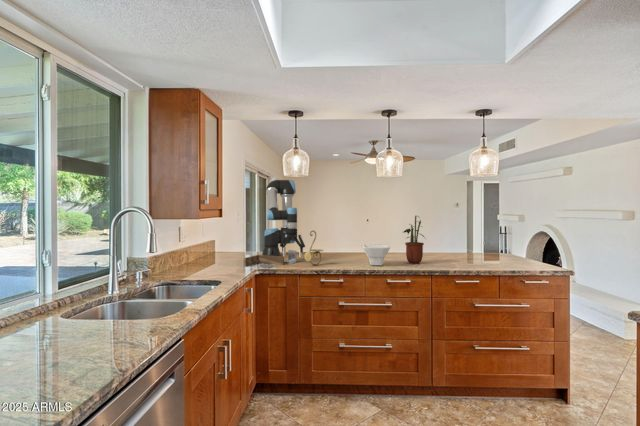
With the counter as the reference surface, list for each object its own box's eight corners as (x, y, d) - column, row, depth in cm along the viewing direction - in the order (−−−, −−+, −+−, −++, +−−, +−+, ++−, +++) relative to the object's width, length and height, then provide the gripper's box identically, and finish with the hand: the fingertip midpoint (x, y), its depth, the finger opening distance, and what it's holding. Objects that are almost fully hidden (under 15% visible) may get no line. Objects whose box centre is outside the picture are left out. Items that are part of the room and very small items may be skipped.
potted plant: (409, 261, 290) (409, 215, 290) (429, 263, 282) (429, 215, 281) (400, 264, 276) (400, 215, 275) (421, 266, 267) (421, 216, 266)
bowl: (362, 263, 282) (362, 244, 282) (389, 263, 280) (389, 244, 280) (362, 267, 264) (362, 247, 263) (391, 267, 261) (391, 247, 261)
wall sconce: (312, 267, 266) (312, 231, 265) (303, 265, 272) (302, 230, 272) (326, 264, 276) (326, 230, 275) (317, 263, 282) (316, 229, 282)
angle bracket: (289, 262, 289) (289, 250, 289) (296, 262, 287) (296, 250, 287) (283, 263, 281) (283, 251, 281) (290, 264, 279) (290, 252, 279)
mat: (260, 264, 277) (260, 264, 277) (276, 265, 271) (276, 265, 271) (253, 266, 267) (253, 266, 267) (269, 268, 262) (269, 267, 262)
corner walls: (257, 262, 286) (257, 254, 286) (283, 264, 277) (283, 256, 277) (243, 266, 269) (243, 258, 269) (271, 268, 261) (270, 259, 260)
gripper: (275, 228, 288) (275, 256, 288) (305, 228, 279) (305, 257, 279) (280, 227, 295) (280, 255, 295) (309, 228, 285) (309, 256, 286)
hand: (292, 256), depth 287 cm, fingers open, 13 cm apart
